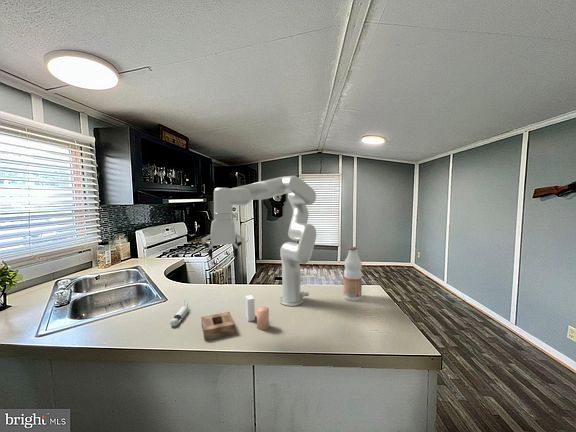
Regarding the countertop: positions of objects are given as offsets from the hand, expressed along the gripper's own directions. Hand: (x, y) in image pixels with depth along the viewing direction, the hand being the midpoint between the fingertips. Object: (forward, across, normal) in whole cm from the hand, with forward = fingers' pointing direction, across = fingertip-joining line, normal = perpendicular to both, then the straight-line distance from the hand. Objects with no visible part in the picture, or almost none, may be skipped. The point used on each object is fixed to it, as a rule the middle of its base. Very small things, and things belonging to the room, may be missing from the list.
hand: (223, 257), depth 108 cm
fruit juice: (+28, -69, -8) cm, 75 cm away
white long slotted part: (+31, +18, -15) cm, 39 cm away
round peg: (+30, -16, +6) cm, 34 cm away
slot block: (+30, +2, +2) cm, 30 cm away
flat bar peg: (+30, -12, -4) cm, 32 cm away
